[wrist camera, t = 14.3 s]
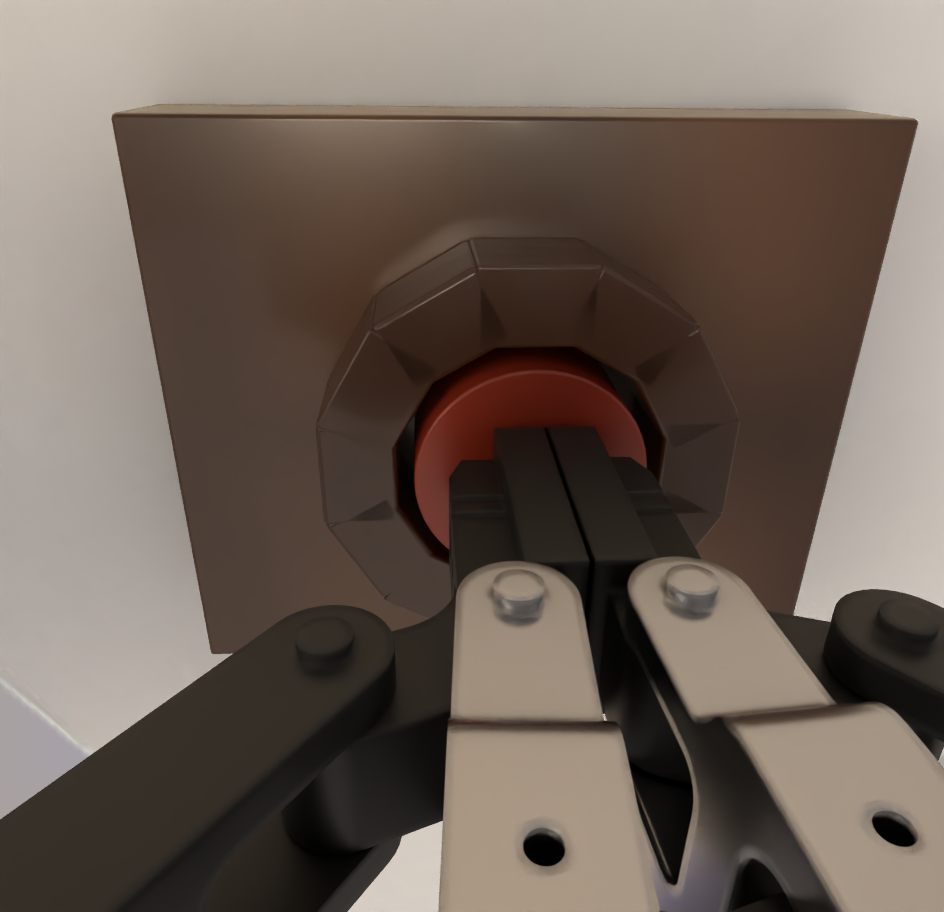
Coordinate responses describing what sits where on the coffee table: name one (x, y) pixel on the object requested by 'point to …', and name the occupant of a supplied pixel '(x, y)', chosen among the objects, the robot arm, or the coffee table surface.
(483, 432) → the button
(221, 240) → the button block
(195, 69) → the coffee table surface
